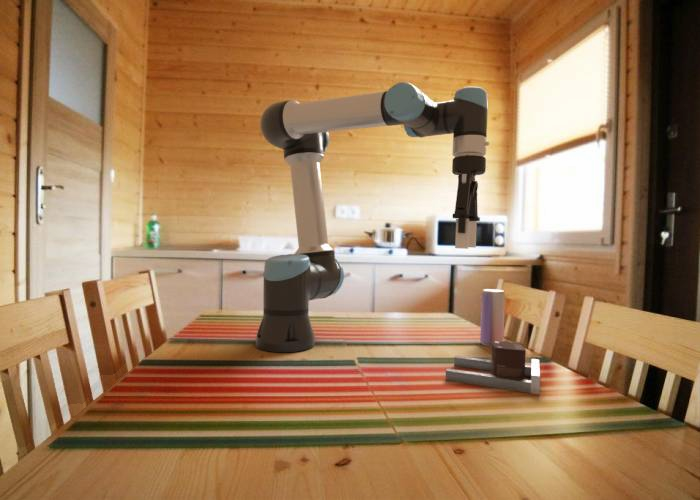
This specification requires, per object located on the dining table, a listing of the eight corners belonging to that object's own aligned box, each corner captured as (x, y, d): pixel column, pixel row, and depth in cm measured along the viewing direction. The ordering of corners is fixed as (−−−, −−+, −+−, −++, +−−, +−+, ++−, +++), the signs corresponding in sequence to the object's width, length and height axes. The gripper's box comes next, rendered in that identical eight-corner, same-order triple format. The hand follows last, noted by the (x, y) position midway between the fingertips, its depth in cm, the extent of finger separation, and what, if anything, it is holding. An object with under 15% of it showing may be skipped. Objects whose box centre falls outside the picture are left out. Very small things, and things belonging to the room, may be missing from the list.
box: (524, 387, 84) (526, 350, 84) (492, 383, 85) (494, 347, 85) (520, 377, 90) (521, 342, 90) (490, 374, 91) (491, 340, 91)
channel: (445, 380, 86) (445, 363, 86) (455, 364, 98) (455, 349, 97) (539, 394, 80) (540, 376, 79) (538, 375, 91) (539, 359, 90)
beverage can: (479, 345, 115) (481, 290, 114) (481, 340, 120) (482, 288, 120) (502, 348, 112) (504, 292, 112) (503, 343, 118) (505, 289, 117)
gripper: (479, 145, 86) (476, 249, 87) (490, 164, 109) (487, 247, 110) (442, 147, 89) (439, 248, 90) (461, 166, 112) (458, 246, 113)
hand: (466, 248), depth 100 cm, fingers open, 13 cm apart
